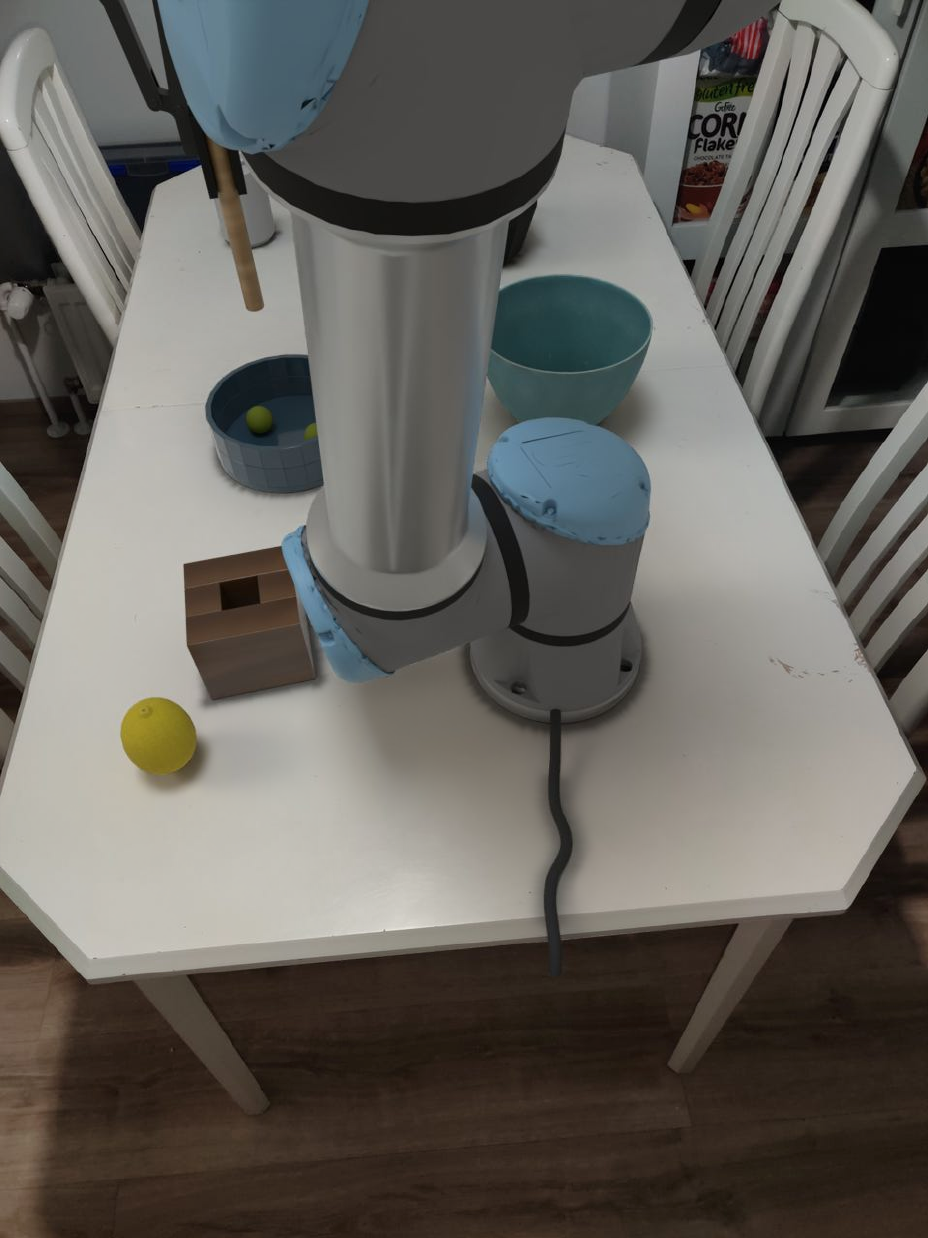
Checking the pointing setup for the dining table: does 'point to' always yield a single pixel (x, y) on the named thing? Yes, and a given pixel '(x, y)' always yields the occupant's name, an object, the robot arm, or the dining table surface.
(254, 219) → the can
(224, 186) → the stick
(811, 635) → the dining table surface
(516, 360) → the deep teal bowl
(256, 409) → the ball
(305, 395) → the bowl
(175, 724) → the lemon
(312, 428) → the ball
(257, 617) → the stick holder
